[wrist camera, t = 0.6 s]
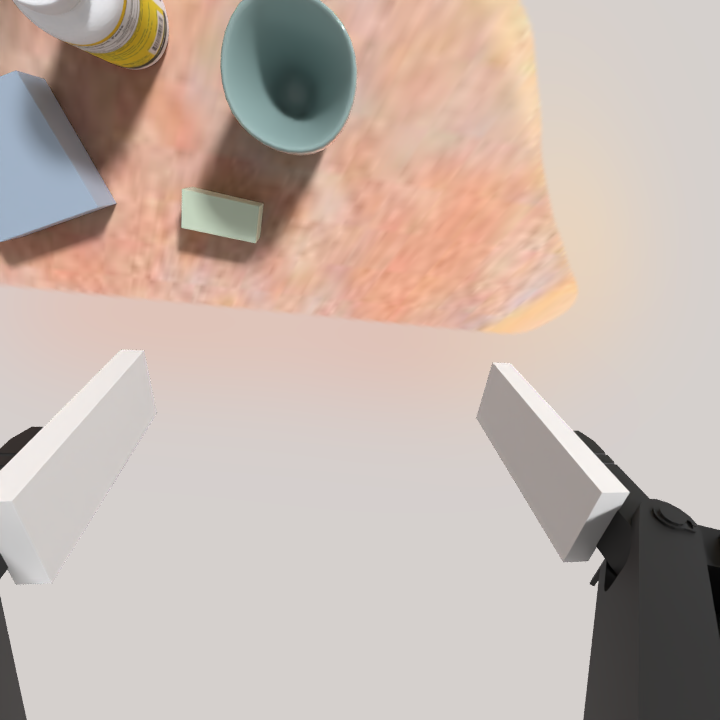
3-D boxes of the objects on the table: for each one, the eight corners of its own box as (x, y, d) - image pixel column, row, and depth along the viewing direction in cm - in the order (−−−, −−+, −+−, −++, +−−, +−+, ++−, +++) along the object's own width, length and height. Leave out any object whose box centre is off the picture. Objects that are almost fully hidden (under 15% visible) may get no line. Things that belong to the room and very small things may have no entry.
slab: (-63, 119, 28) (-102, 115, 26) (44, 79, 28) (16, 70, 25) (21, 236, 33) (-5, 243, 30) (116, 203, 32) (98, 207, 30)
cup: (331, 169, 33) (335, 172, 24) (240, 136, 31) (208, 126, 22) (359, 63, 29) (376, 21, 21) (259, 19, 28) (231, -47, 19)
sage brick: (192, 222, 34) (181, 227, 31) (193, 186, 32) (182, 189, 30) (260, 237, 35) (255, 243, 32) (264, 203, 34) (259, 206, 31)
